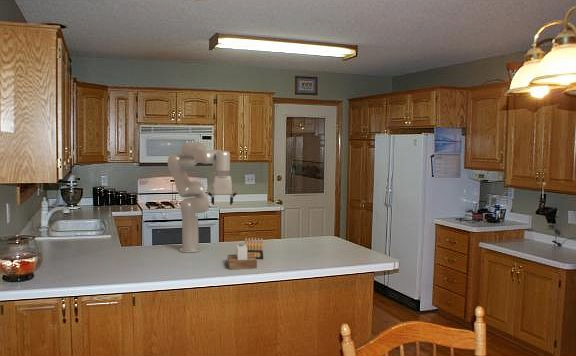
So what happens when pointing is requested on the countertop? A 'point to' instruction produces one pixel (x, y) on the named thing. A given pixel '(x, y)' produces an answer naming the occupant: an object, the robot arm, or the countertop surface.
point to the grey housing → (241, 252)
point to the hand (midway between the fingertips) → (222, 204)
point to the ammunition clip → (255, 248)
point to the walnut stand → (242, 262)
